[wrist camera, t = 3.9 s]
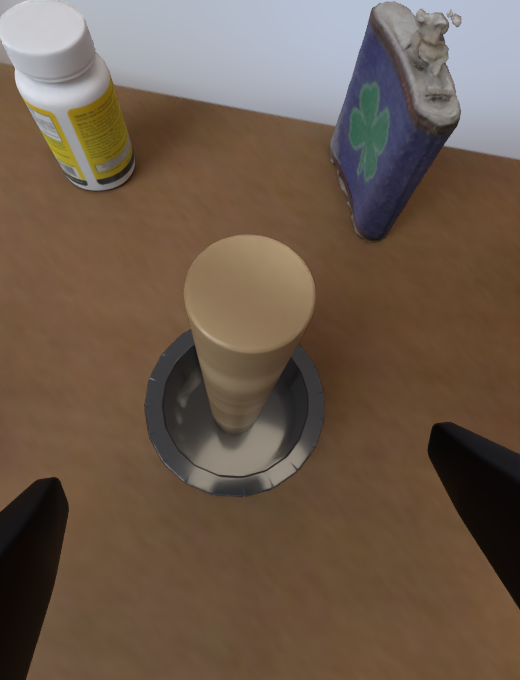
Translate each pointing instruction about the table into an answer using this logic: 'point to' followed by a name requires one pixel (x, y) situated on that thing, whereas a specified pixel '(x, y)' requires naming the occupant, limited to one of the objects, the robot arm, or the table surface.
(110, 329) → the table surface
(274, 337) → the muddler
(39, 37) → the supplement bottle
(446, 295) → the table surface
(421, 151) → the flask
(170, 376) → the cup
